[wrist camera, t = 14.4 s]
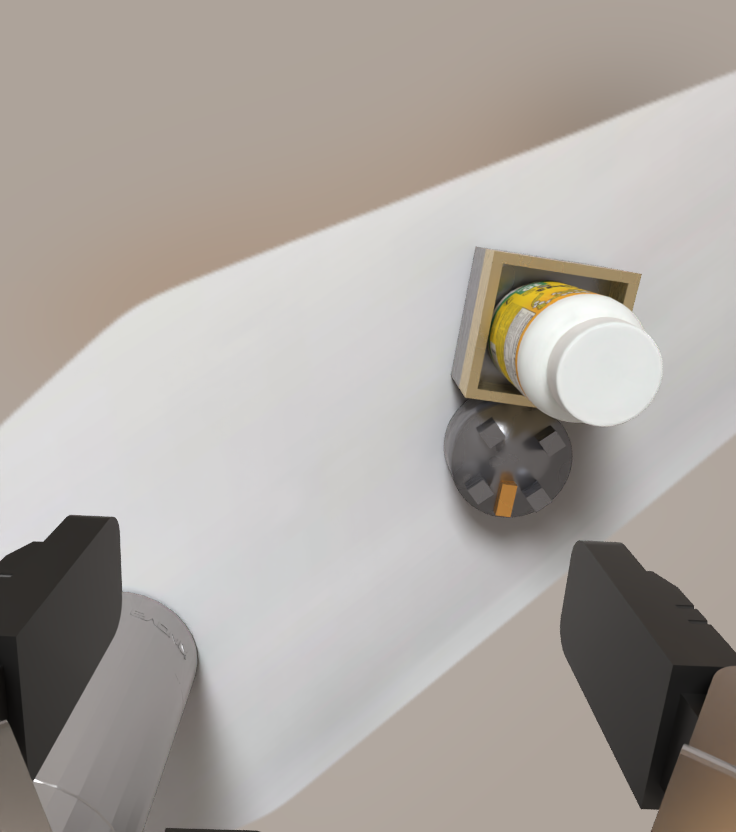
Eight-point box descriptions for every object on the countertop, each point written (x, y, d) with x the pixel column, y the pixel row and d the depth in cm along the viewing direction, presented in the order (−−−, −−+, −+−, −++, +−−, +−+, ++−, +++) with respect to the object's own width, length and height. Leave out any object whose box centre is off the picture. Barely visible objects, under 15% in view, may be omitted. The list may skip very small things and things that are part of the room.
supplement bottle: (470, 366, 35) (514, 421, 25) (507, 264, 33) (569, 282, 24) (567, 397, 35) (645, 461, 26) (608, 298, 34) (706, 328, 25)
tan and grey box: (546, 502, 40) (572, 539, 35) (429, 487, 39) (440, 522, 35) (604, 266, 36) (641, 274, 31) (475, 246, 36) (494, 250, 31)
